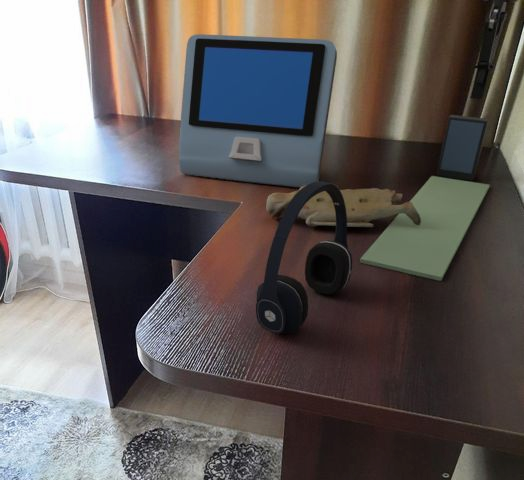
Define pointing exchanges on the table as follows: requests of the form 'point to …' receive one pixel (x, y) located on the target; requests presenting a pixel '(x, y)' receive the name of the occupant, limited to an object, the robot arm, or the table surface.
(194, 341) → the table surface
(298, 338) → the table surface
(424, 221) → the green mat
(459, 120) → the black device
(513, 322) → the table surface
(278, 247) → the headphones
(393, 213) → the statue
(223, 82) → the touchscreen device
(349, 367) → the table surface
